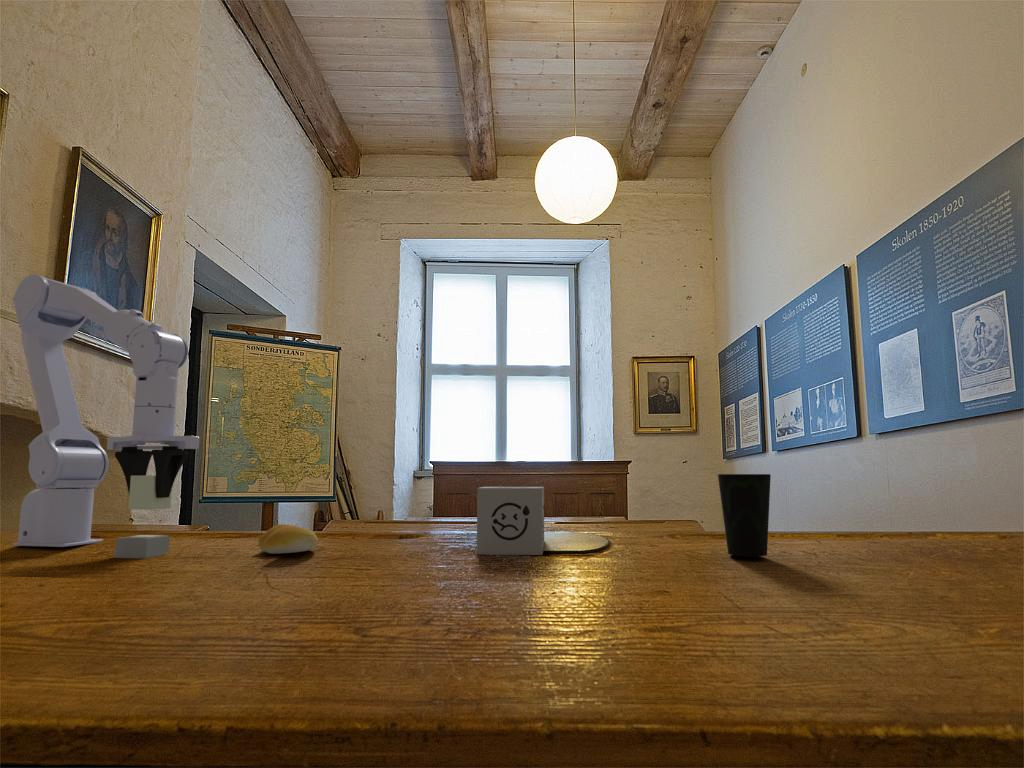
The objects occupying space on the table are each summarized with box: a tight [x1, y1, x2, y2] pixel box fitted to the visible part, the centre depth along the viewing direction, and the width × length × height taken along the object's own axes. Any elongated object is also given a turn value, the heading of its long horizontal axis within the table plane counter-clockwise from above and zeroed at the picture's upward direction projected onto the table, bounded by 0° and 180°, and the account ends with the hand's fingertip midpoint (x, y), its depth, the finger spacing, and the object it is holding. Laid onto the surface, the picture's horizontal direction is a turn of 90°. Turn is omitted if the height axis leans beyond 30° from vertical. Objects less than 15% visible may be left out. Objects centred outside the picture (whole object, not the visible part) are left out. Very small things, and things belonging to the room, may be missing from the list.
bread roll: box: [257, 523, 319, 555], centre depth 103 cm, size 8×9×4 cm
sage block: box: [128, 475, 173, 511], centre depth 103 cm, size 4×4×5 cm
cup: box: [717, 473, 772, 557], centre depth 104 cm, size 8×8×12 cm
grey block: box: [114, 534, 170, 559], centre depth 101 cm, size 5×5×3 cm
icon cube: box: [476, 486, 545, 556], centre depth 109 cm, size 10×10×10 cm
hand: (149, 497), depth 103 cm, fingers closed on sage block, 4 cm apart
